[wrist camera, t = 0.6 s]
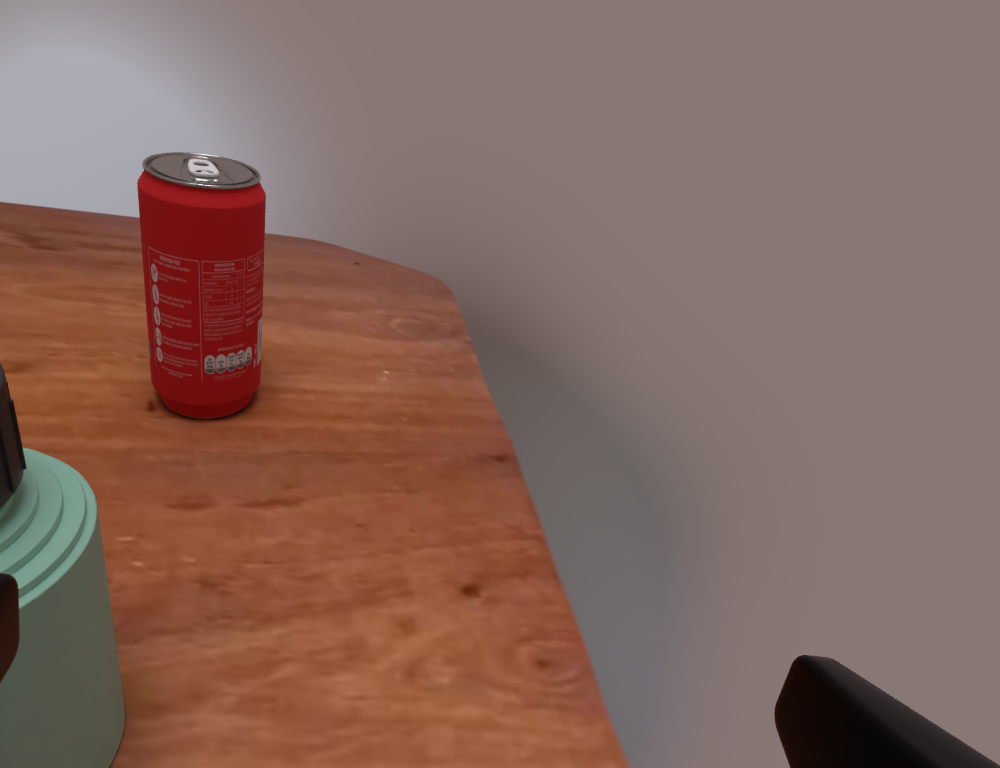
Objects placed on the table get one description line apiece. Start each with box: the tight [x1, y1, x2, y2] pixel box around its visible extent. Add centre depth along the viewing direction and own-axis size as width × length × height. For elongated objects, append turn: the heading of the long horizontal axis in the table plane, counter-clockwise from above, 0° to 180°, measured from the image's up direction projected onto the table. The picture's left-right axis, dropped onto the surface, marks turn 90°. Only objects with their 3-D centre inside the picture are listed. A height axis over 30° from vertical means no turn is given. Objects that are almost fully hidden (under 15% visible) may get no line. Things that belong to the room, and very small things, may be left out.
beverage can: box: [138, 153, 266, 419], centre depth 31 cm, size 5×5×12 cm
